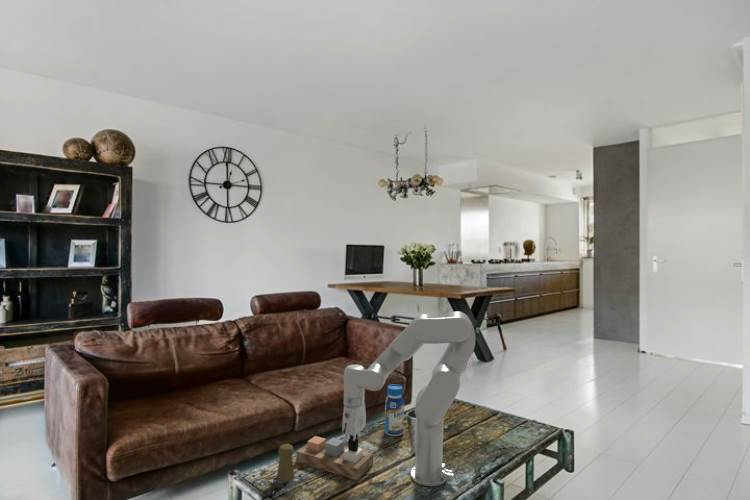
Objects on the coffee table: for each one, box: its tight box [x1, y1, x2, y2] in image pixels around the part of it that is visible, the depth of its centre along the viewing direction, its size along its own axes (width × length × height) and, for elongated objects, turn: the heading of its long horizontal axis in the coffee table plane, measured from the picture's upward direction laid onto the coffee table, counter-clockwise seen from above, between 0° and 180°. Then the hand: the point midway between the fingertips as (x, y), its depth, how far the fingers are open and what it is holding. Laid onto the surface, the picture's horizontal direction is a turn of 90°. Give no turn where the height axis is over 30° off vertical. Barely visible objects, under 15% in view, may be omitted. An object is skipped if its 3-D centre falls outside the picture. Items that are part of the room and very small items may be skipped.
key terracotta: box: [307, 435, 327, 453], centre depth 163 cm, size 5×5×5 cm
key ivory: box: [344, 447, 364, 464], centre depth 156 cm, size 5×5×5 cm
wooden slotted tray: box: [295, 440, 374, 481], centre depth 160 cm, size 26×12×4 cm, turn 63°
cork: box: [276, 443, 295, 483], centre depth 150 cm, size 6×6×11 cm
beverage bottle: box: [384, 383, 405, 437], centre depth 186 cm, size 8×8×20 cm
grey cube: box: [325, 437, 345, 458], centre depth 159 cm, size 5×5×5 cm
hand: (353, 449), depth 156 cm, fingers closed
